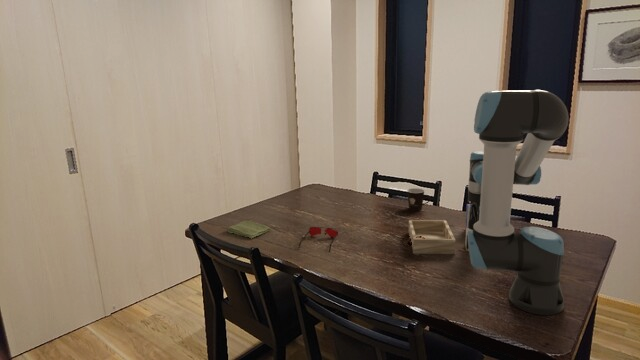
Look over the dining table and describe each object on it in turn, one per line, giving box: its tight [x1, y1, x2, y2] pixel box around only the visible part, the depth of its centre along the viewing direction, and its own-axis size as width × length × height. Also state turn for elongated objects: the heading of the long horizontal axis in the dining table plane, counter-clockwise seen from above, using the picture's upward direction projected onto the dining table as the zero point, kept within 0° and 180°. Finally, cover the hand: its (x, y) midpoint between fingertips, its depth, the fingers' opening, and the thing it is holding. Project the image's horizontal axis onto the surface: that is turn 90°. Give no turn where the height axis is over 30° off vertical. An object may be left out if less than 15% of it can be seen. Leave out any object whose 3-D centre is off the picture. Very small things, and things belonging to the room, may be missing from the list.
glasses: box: [297, 226, 340, 253], centre depth 181 cm, size 14×16×5 cm
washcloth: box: [226, 220, 271, 240], centre depth 197 cm, size 13×18×3 cm
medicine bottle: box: [464, 219, 475, 252], centre depth 169 cm, size 7×7×12 cm
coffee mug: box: [406, 187, 431, 212], centre depth 217 cm, size 12×9×10 cm
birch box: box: [408, 219, 456, 255], centre depth 177 cm, size 22×16×6 cm
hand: (475, 245), depth 171 cm, fingers closed on medicine bottle, 8 cm apart
